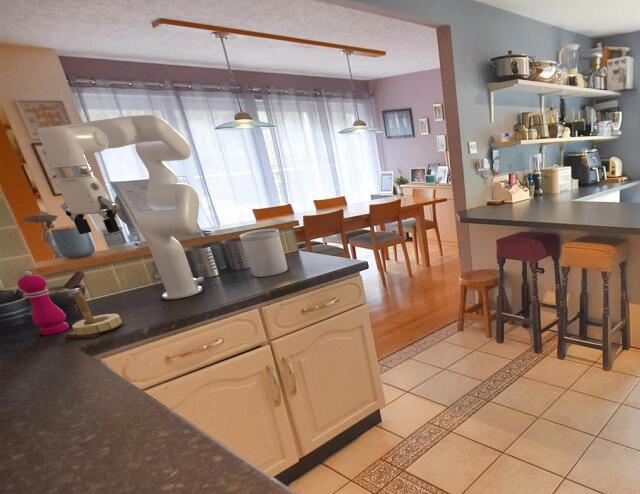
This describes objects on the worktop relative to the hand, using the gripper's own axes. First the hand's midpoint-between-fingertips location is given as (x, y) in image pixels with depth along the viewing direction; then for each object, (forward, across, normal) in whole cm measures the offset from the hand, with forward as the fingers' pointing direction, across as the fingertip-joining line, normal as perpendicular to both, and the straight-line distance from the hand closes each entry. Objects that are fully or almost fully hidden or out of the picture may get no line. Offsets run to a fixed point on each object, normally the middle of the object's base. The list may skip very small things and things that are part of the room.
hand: (100, 232), depth 131 cm
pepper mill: (+30, +22, +8) cm, 38 cm away
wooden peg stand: (+29, +7, +8) cm, 31 cm away
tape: (+28, +6, +8) cm, 30 cm away
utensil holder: (+31, -12, -52) cm, 62 cm away
